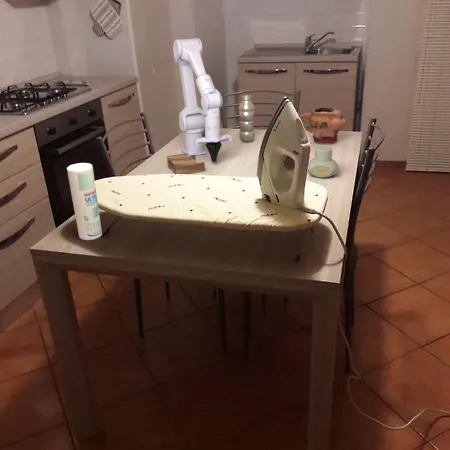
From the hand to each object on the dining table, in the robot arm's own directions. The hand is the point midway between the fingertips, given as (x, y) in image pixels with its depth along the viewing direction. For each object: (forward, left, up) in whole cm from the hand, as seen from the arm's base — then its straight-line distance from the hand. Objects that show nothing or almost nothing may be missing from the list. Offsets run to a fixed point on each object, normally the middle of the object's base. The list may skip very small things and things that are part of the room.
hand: (213, 161), depth 192 cm
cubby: (0, -11, -1) cm, 11 cm away
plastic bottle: (-23, +24, -2) cm, 33 cm away
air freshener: (+28, +30, -2) cm, 41 cm away
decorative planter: (-8, +52, -2) cm, 53 cm away
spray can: (+41, -53, -2) cm, 67 cm away
